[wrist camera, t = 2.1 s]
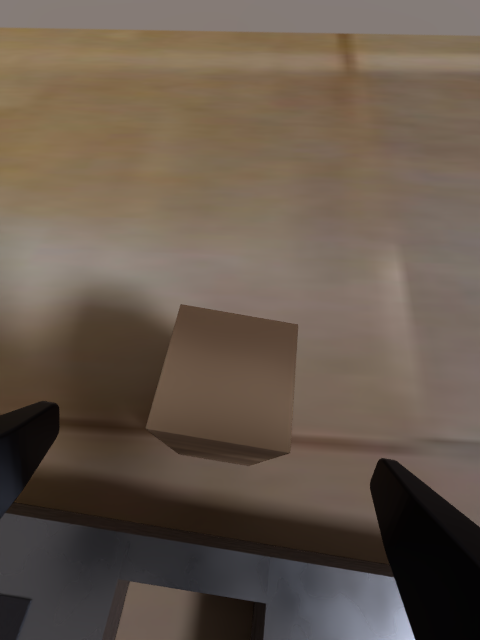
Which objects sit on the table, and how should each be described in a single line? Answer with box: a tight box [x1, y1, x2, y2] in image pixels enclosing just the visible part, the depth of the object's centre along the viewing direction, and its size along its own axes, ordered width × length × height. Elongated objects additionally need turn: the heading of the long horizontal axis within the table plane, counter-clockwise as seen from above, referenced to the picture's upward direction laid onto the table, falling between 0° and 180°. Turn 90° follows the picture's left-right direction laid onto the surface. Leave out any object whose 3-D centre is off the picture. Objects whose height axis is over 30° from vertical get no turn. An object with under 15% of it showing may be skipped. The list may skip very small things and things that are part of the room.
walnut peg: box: [145, 304, 298, 466], centre depth 14 cm, size 4×4×10 cm
